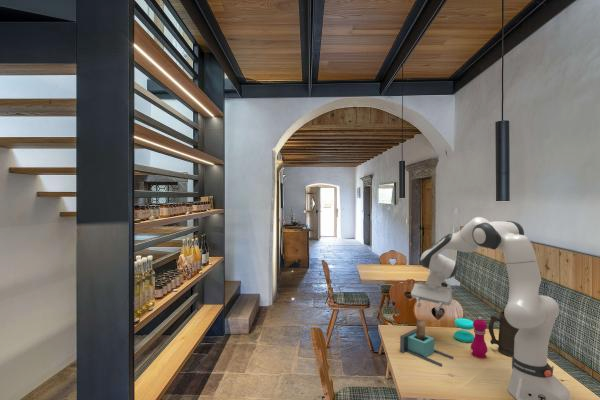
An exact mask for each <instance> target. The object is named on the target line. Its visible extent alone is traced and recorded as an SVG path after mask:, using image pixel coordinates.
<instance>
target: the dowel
mask: <svg viewBox="0 0 600 400" xmlns="http://www.w3.org/2000/svg"><path fill="white" fill-rule="evenodd" d="M415 329H416V339H419V340H421V341H425V335H426V320H423V319H417V320H416V328H415Z"/></svg>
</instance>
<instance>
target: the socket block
mask: <svg viewBox="0 0 600 400" xmlns="http://www.w3.org/2000/svg"><path fill="white" fill-rule="evenodd" d="M434 349H435V338H434V337H431V336H429V335H426V334H425V341H421V340H419V339H416V334H413V335H411V336H409V337H408V350H410V351H412V352H415V353H417V354H420V355H422V356H424V357H427V358H428V356H430V355H433V354H434V353H435V352H434Z"/></svg>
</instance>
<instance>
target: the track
mask: <svg viewBox="0 0 600 400" xmlns="http://www.w3.org/2000/svg"><path fill="white" fill-rule="evenodd" d="M413 334H416V328H414V329H412V330H410V331H408V332H405V333H403V334H401V335H400V337H399V338H400V339H399V341H400V342H399V343H400V344H399V352H400V353H402V354H405V353H408V354H410V355H413V356H414V357H417V358H419V359H422V360H424V361H426V362H429V363H432V364H434V365H436V366H439V367H443V363H441V362H438V361H436V360H434V359H431V358H429V357H428V356H427V357H424V356H422V355H420V354H417V353H415V352H412V351H410V350H408V337H409V336H411V335H413ZM434 353H435V354H438V355H441V356H443V357H445V358H448V359H451V360H454V356H453V355H450V354H447V353H444V352H442V351H440V350H437V349H435V348H434Z"/></svg>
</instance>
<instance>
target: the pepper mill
mask: <svg viewBox="0 0 600 400" xmlns="http://www.w3.org/2000/svg"><path fill="white" fill-rule="evenodd" d="M473 327H474V328H473V332H474V340H473V341H472V342H471V344H470V350H471V355H472V356H473V357H474V358H477V359H486V358H487V353H488V345H487V344H486V341H485V335H486V330H487V329H488V324H487V321H485V320H484V319H483V317H482V316H477V318H476V319H474V321H473Z"/></svg>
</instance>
